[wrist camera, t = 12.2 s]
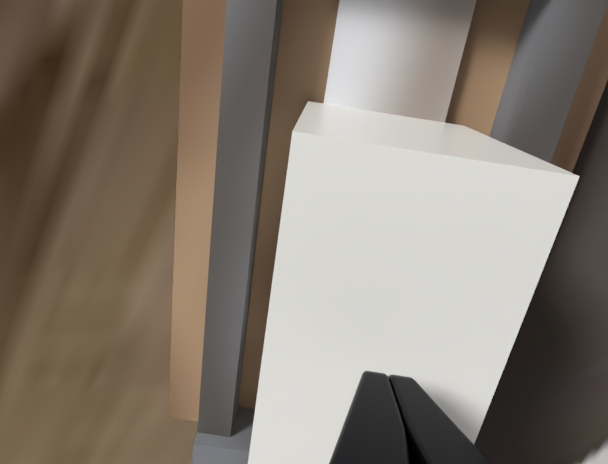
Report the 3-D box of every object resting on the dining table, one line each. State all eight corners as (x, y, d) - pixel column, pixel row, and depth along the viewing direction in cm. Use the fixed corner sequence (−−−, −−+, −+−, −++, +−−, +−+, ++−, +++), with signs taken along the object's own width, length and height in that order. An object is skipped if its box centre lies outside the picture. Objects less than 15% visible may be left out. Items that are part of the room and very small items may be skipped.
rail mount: (633, -47, 12) (730, -83, 9) (454, 441, 18) (477, 508, 15) (198, -116, 12) (158, -174, 9) (176, 399, 18) (149, 459, 15)
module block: (464, 125, 12) (579, 176, 7) (399, 357, 15) (441, 527, 10) (307, 101, 12) (292, 131, 7) (273, 338, 15) (243, 497, 10)
